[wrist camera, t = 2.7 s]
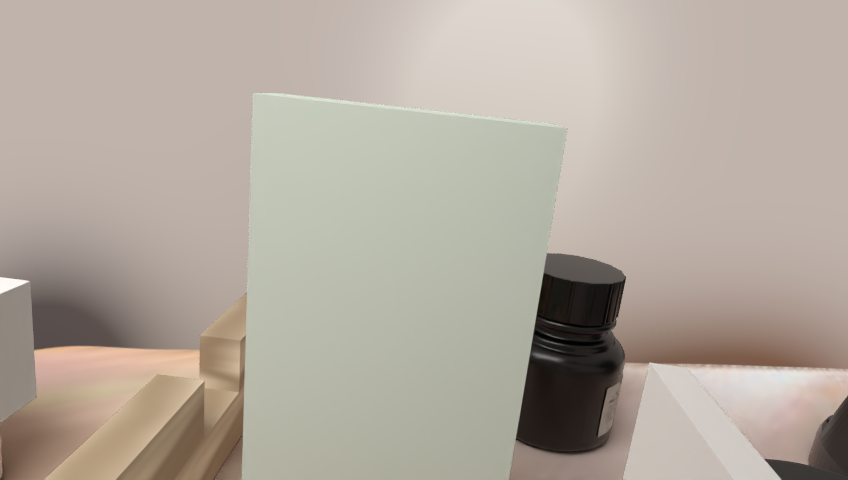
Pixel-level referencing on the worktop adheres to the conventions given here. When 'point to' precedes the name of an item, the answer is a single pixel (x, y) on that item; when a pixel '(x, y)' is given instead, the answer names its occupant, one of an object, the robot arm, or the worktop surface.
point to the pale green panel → (391, 288)
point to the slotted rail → (174, 418)
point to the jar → (801, 471)
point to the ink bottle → (573, 356)
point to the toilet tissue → (0, 460)
